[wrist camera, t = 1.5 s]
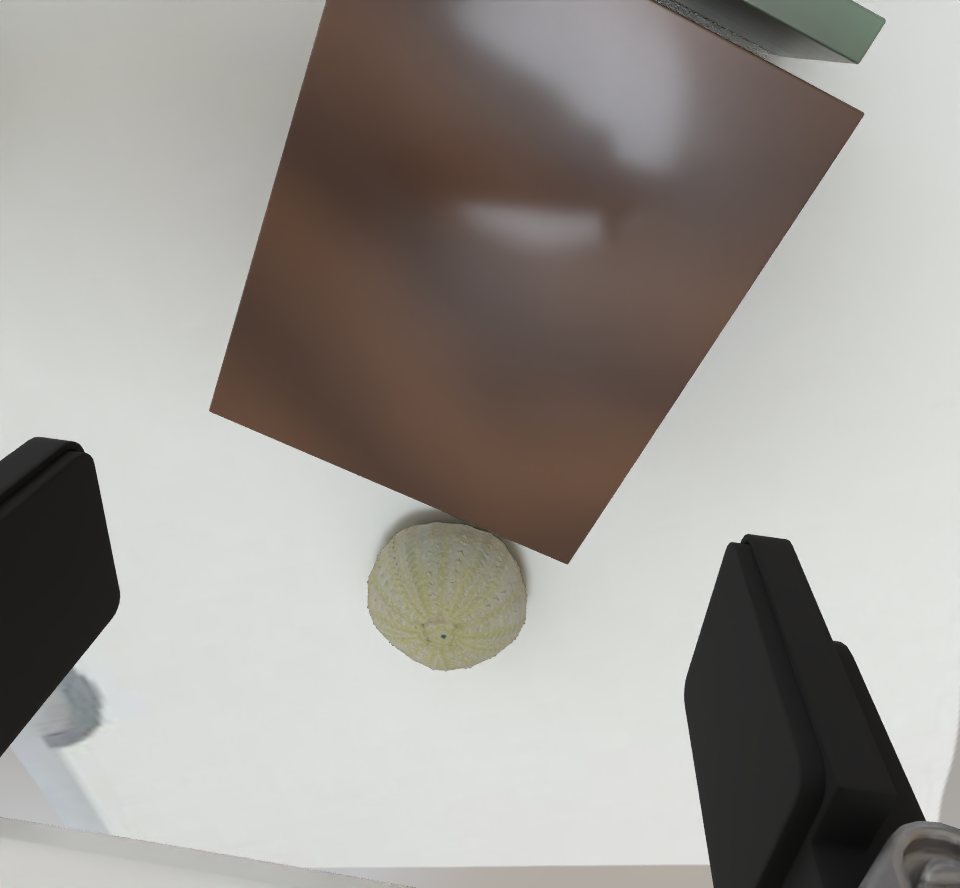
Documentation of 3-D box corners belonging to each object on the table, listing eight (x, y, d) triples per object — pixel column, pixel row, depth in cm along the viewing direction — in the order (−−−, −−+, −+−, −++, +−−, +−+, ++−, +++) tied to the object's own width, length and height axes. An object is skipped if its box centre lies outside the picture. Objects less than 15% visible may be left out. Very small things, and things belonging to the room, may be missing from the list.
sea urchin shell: (532, 522, 39) (521, 681, 37) (530, 544, 46) (521, 677, 44) (361, 509, 39) (341, 664, 37) (387, 532, 47) (371, 662, 45)
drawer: (541, -364, 23) (528, -560, 16) (901, -153, 25) (1050, -237, 17) (327, 264, 34) (257, 331, 26) (589, 384, 36) (594, 481, 28)
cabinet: (435, -89, 28) (368, -152, 19) (771, 88, 30) (866, 113, 20) (300, 314, 37) (208, 411, 27) (567, 435, 38) (567, 565, 29)
